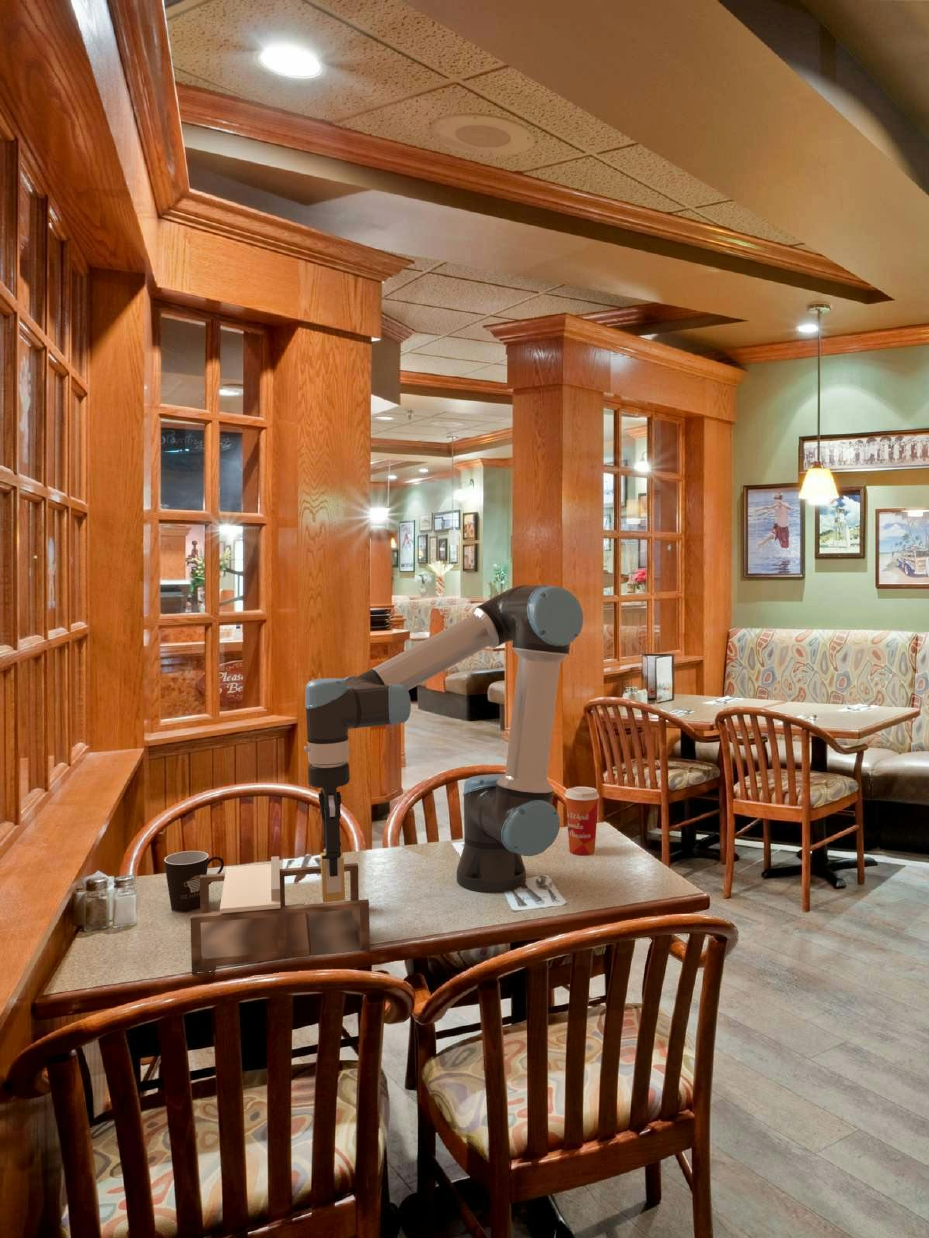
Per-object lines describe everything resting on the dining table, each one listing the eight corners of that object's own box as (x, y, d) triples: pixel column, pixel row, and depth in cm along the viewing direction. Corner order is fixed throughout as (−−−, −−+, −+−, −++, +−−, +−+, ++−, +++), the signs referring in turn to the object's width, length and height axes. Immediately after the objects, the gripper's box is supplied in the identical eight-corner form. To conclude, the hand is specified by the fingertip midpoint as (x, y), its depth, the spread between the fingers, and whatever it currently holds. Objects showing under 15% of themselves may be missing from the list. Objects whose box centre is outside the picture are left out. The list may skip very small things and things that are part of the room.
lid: (279, 867, 173) (279, 853, 173) (280, 908, 152) (280, 892, 152) (226, 871, 171) (225, 857, 170) (219, 913, 150) (219, 897, 150)
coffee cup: (557, 851, 213) (557, 789, 212) (579, 844, 218) (579, 784, 218) (584, 859, 207) (584, 796, 206) (606, 851, 212) (607, 790, 211)
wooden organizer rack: (358, 910, 177) (357, 862, 176) (369, 956, 156) (369, 902, 155) (201, 924, 170) (200, 874, 170) (191, 974, 149) (190, 917, 149)
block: (343, 892, 167) (341, 850, 166) (345, 900, 163) (343, 857, 163) (321, 894, 166) (320, 852, 166) (323, 902, 162) (321, 859, 162)
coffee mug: (164, 916, 174) (163, 866, 174) (166, 900, 183) (165, 853, 182) (225, 909, 178) (224, 860, 177) (224, 894, 186) (223, 847, 185)
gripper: (306, 754, 171) (310, 873, 172) (309, 775, 154) (314, 906, 155) (345, 752, 172) (349, 870, 174) (353, 771, 155) (357, 901, 157)
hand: (333, 886), depth 164 cm, fingers closed on block, 4 cm apart
